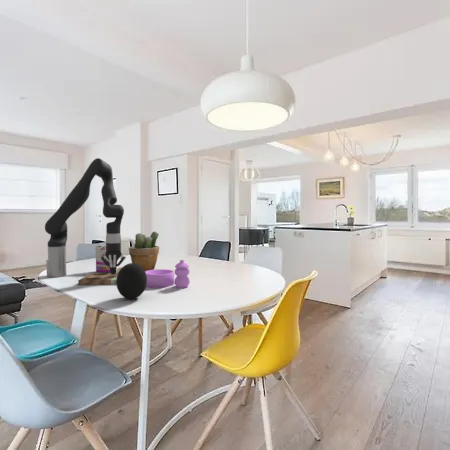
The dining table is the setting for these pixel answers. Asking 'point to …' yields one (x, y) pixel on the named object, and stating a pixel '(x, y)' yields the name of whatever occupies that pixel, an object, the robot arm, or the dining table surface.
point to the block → (118, 269)
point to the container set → (168, 276)
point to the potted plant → (145, 251)
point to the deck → (98, 279)
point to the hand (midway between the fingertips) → (113, 274)
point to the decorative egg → (131, 281)
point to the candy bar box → (99, 262)
